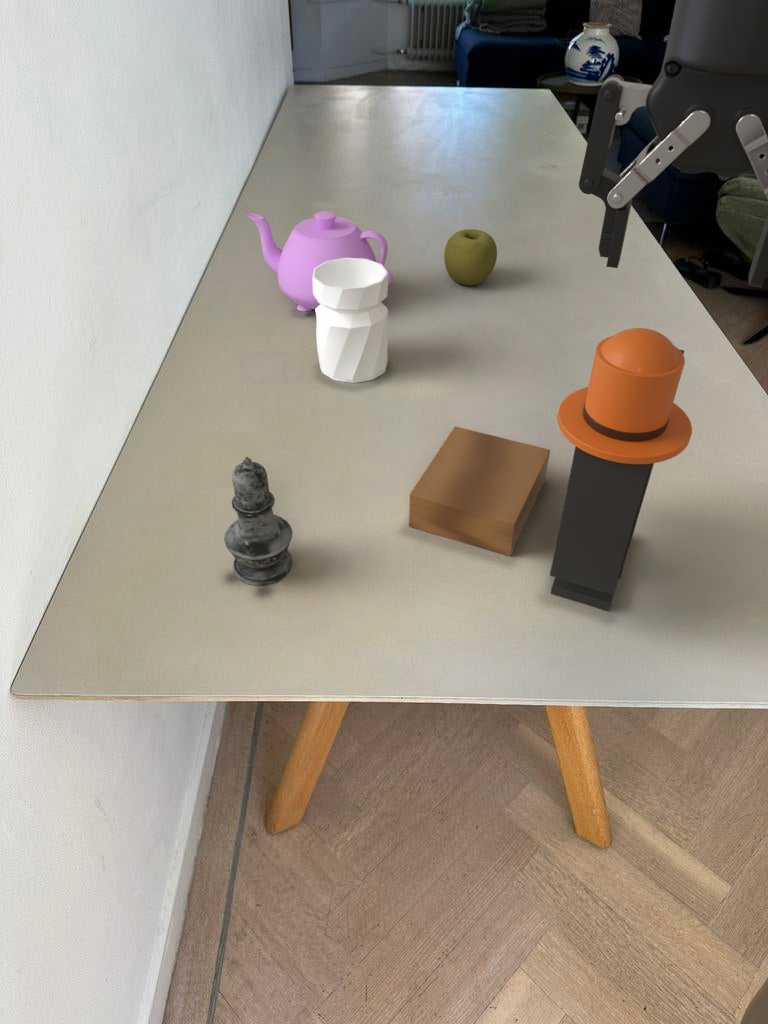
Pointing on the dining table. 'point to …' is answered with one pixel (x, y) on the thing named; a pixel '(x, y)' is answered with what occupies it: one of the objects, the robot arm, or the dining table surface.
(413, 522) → the stand
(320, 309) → the vase
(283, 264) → the teapot
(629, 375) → the hat
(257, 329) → the dining table surface
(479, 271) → the apple
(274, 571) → the chess piece
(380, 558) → the dining table surface
